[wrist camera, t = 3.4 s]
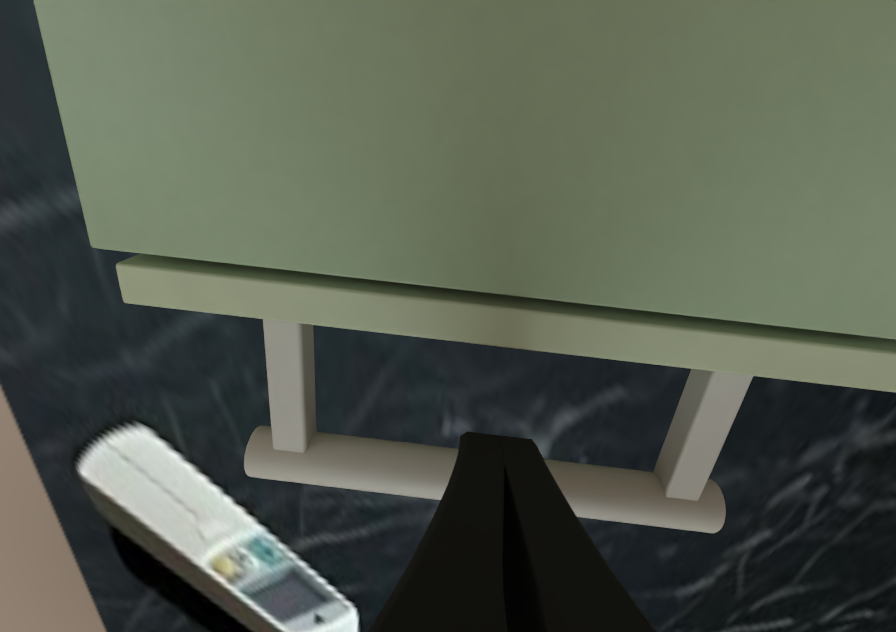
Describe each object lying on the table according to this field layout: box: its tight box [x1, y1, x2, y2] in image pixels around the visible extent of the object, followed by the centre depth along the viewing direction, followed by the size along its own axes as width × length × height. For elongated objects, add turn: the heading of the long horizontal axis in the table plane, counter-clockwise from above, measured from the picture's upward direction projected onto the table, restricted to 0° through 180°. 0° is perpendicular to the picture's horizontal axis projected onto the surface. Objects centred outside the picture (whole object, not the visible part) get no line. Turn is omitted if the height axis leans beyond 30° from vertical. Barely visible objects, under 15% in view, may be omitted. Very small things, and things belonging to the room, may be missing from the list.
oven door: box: [116, 254, 896, 533], centre depth 13 cm, size 5×15×9 cm, turn 84°
